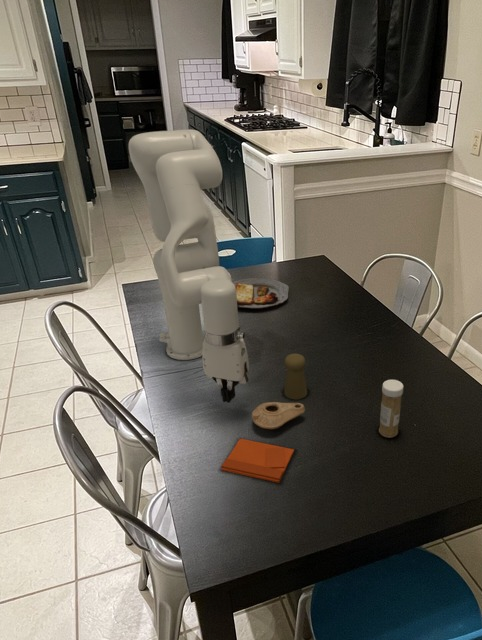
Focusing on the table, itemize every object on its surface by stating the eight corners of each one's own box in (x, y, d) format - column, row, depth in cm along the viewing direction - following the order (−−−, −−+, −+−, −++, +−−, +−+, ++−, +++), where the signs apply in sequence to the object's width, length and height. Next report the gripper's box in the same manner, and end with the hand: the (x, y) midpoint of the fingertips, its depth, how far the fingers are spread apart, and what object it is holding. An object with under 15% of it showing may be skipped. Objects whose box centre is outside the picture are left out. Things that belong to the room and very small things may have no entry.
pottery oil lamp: (311, 426, 118) (303, 412, 112) (264, 444, 119) (254, 432, 113) (301, 395, 123) (293, 381, 117) (256, 413, 124) (246, 400, 118)
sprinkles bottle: (401, 436, 115) (407, 388, 108) (382, 439, 114) (387, 391, 107) (393, 424, 119) (398, 377, 112) (375, 427, 118) (379, 380, 111)
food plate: (287, 313, 170) (286, 303, 168) (218, 313, 170) (217, 303, 168) (289, 283, 191) (289, 275, 189) (229, 284, 191) (228, 275, 189)
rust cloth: (221, 470, 106) (221, 466, 106) (240, 440, 114) (239, 436, 114) (279, 483, 103) (279, 479, 103) (294, 451, 111) (294, 447, 111)
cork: (290, 401, 127) (289, 365, 121) (280, 389, 131) (278, 353, 126) (311, 395, 129) (311, 359, 123) (300, 383, 134) (300, 348, 128)
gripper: (259, 331, 113) (262, 395, 123) (199, 321, 117) (207, 385, 127) (247, 347, 107) (251, 414, 117) (184, 337, 111) (193, 402, 121)
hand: (228, 399), depth 122 cm, fingers closed
